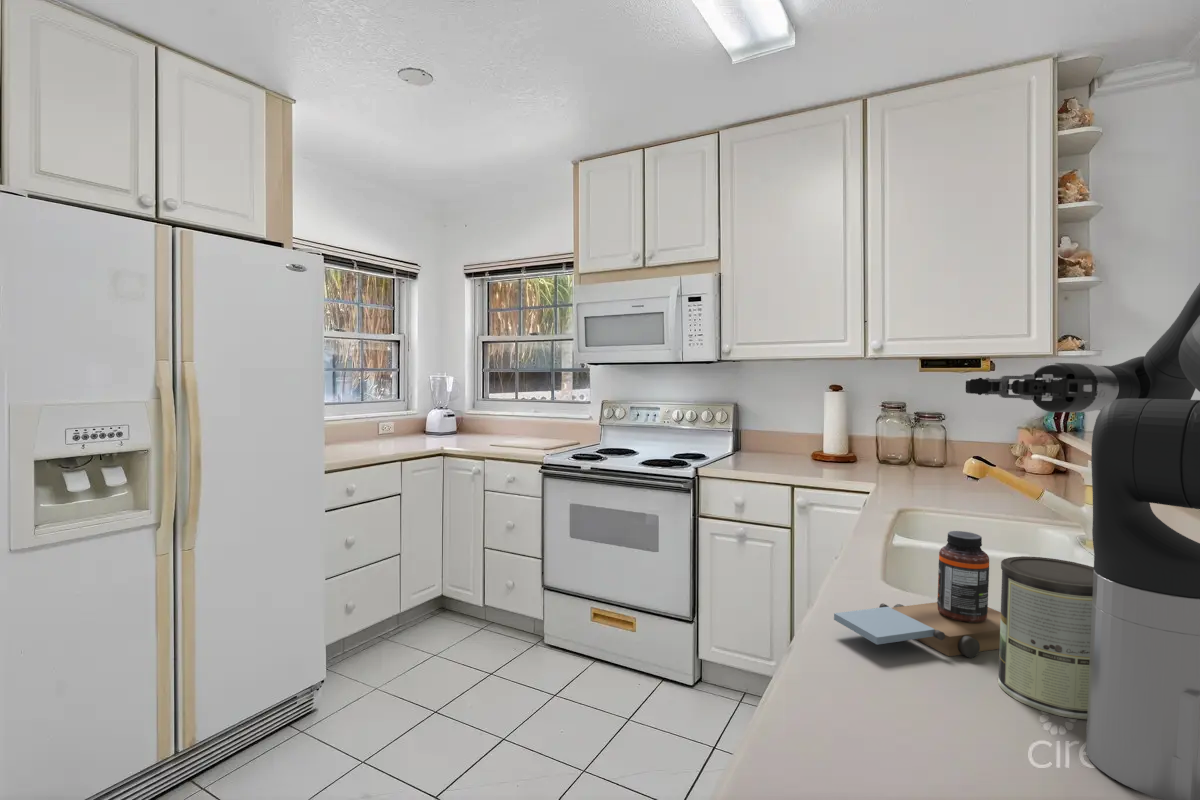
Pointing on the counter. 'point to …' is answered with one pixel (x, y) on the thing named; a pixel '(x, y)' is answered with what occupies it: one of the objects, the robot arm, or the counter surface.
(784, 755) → the counter surface
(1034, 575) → the coffee can
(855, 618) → the panel
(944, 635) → the flatbed
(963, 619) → the supplement bottle
